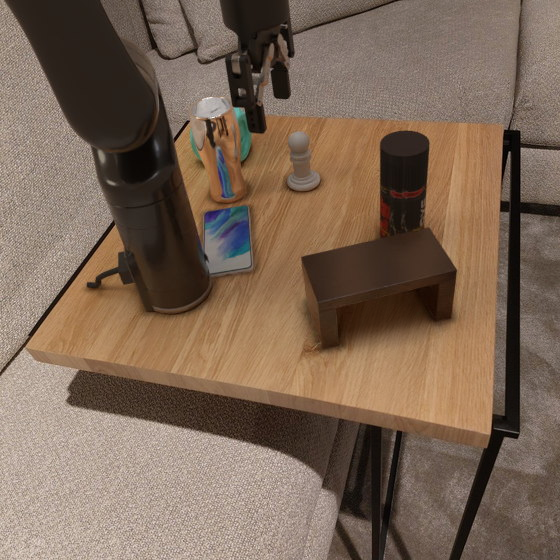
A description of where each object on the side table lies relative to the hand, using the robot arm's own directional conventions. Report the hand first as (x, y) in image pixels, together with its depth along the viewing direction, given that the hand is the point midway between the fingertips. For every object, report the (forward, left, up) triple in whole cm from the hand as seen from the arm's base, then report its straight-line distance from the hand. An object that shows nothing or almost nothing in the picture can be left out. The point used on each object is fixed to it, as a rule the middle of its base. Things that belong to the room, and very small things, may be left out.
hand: (270, 114), depth 74 cm
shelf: (+7, -20, -19) cm, 28 cm away
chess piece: (+5, +10, -19) cm, 22 cm away
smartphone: (-9, 0, -19) cm, 21 cm away
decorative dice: (-6, +23, -19) cm, 30 cm away
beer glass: (-7, +12, -19) cm, 23 cm away
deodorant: (+15, -7, -19) cm, 25 cm away
